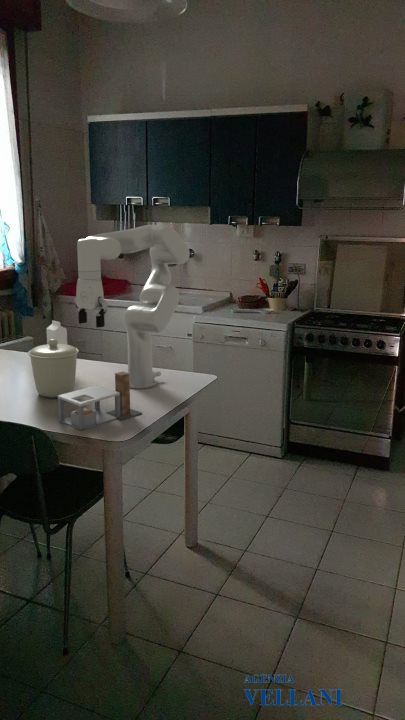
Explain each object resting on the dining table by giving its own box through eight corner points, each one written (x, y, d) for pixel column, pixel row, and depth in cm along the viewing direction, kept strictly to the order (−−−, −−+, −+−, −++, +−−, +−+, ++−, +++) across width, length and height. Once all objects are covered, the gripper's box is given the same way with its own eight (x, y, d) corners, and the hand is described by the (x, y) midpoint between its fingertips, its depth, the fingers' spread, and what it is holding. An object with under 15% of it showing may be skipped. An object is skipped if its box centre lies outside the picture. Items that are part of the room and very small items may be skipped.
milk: (56, 375, 244) (53, 323, 238) (48, 372, 248) (45, 321, 242) (69, 372, 248) (66, 321, 242) (60, 369, 252) (57, 319, 246)
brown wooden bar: (123, 410, 201) (122, 371, 198) (130, 412, 199) (129, 373, 195) (116, 412, 199) (114, 373, 195) (122, 415, 196) (121, 375, 193)
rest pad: (124, 407, 205) (124, 406, 205) (142, 413, 199) (142, 412, 199) (104, 414, 199) (104, 412, 199) (121, 420, 193) (121, 419, 193)
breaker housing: (97, 409, 203) (96, 385, 201) (120, 417, 196) (119, 392, 193) (59, 421, 192) (57, 395, 189) (81, 430, 184) (80, 403, 182)
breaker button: (84, 418, 191) (84, 406, 190) (90, 421, 189) (90, 409, 188) (76, 421, 189) (76, 409, 188) (82, 423, 187) (82, 411, 186)
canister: (62, 404, 208) (60, 346, 203) (20, 398, 214) (16, 341, 209) (89, 389, 225) (87, 336, 219) (49, 384, 231) (46, 332, 225)
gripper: (65, 274, 202) (67, 323, 206) (96, 278, 191) (98, 330, 195) (83, 272, 207) (85, 320, 212) (114, 277, 196) (116, 327, 201)
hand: (91, 324), depth 203 cm, fingers open, 9 cm apart
